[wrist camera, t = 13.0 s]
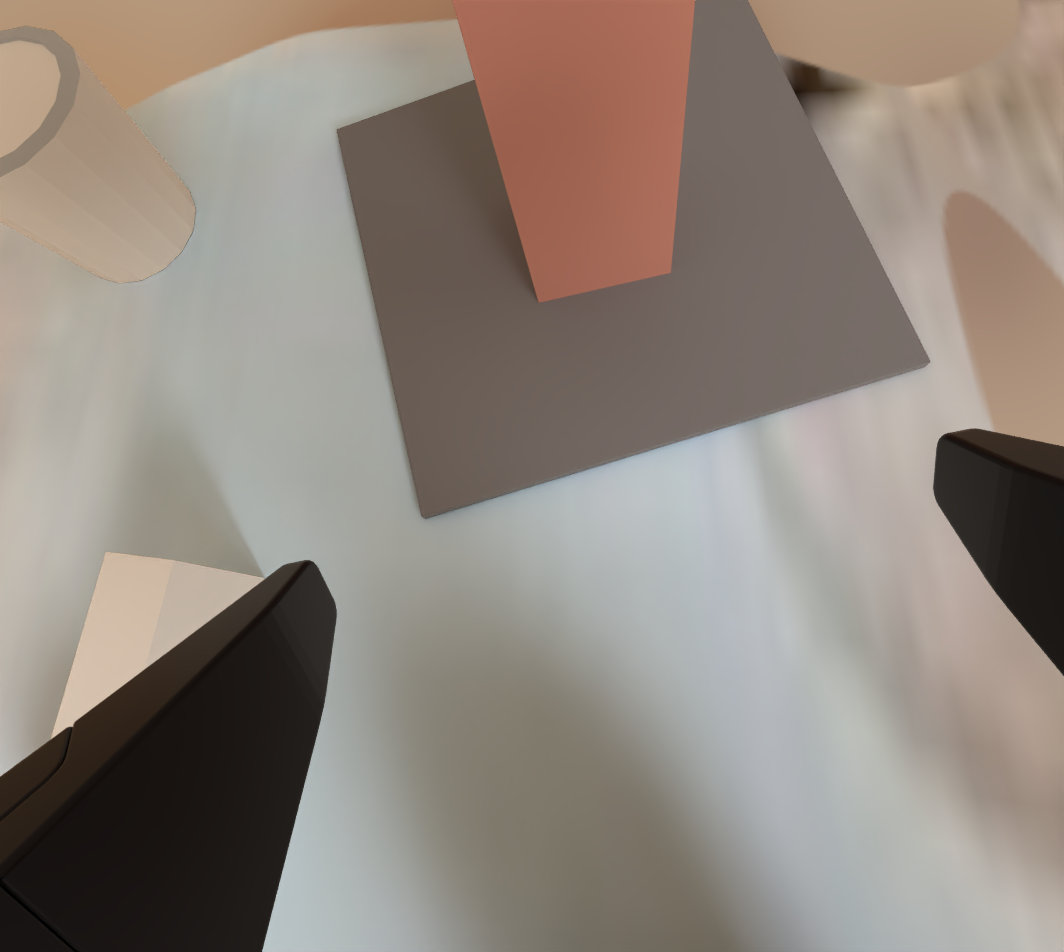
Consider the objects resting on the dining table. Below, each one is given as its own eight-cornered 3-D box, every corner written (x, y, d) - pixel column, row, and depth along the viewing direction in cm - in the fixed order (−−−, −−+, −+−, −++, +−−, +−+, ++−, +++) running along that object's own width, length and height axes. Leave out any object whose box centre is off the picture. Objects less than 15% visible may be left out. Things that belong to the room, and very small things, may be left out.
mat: (925, 366, 22) (930, 361, 21) (425, 518, 23) (421, 516, 23) (738, -6, 27) (739, -16, 26) (340, 136, 28) (336, 129, 28)
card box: (670, 272, 24) (708, -146, 11) (538, 302, 24) (433, -64, 12) (643, 163, 25) (648, -316, 13) (518, 193, 25) (406, -237, 13)
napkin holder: (243, 489, 25) (134, 444, 20) (428, 712, 22) (357, 733, 16) (-53, 769, 24) (-257, 804, 19) (93, 1050, 21) (-103, 1194, 15)
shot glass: (202, 145, 29) (75, -2, 23) (214, 269, 27) (78, 148, 21) (69, 189, 30) (-93, 59, 23) (71, 314, 28) (-105, 210, 21)
